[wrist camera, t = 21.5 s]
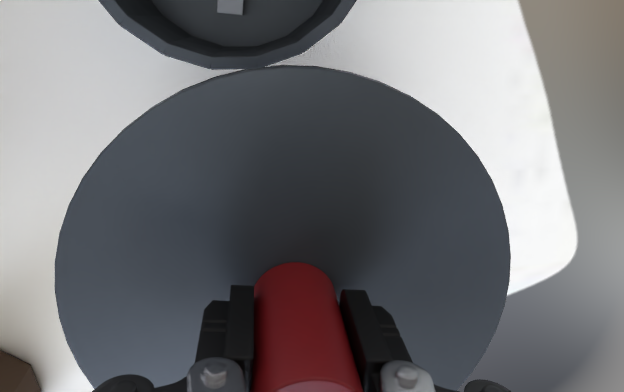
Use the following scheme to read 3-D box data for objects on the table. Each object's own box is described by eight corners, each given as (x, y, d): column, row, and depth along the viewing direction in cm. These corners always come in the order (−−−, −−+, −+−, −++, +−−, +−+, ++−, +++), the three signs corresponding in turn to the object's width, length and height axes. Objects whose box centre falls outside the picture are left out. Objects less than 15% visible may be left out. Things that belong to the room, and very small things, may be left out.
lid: (-13, 341, 17) (-167, 526, 11) (225, -48, 14) (200, -99, 8) (333, 495, 21) (364, 692, 15) (579, 226, 18) (748, 337, 12)
